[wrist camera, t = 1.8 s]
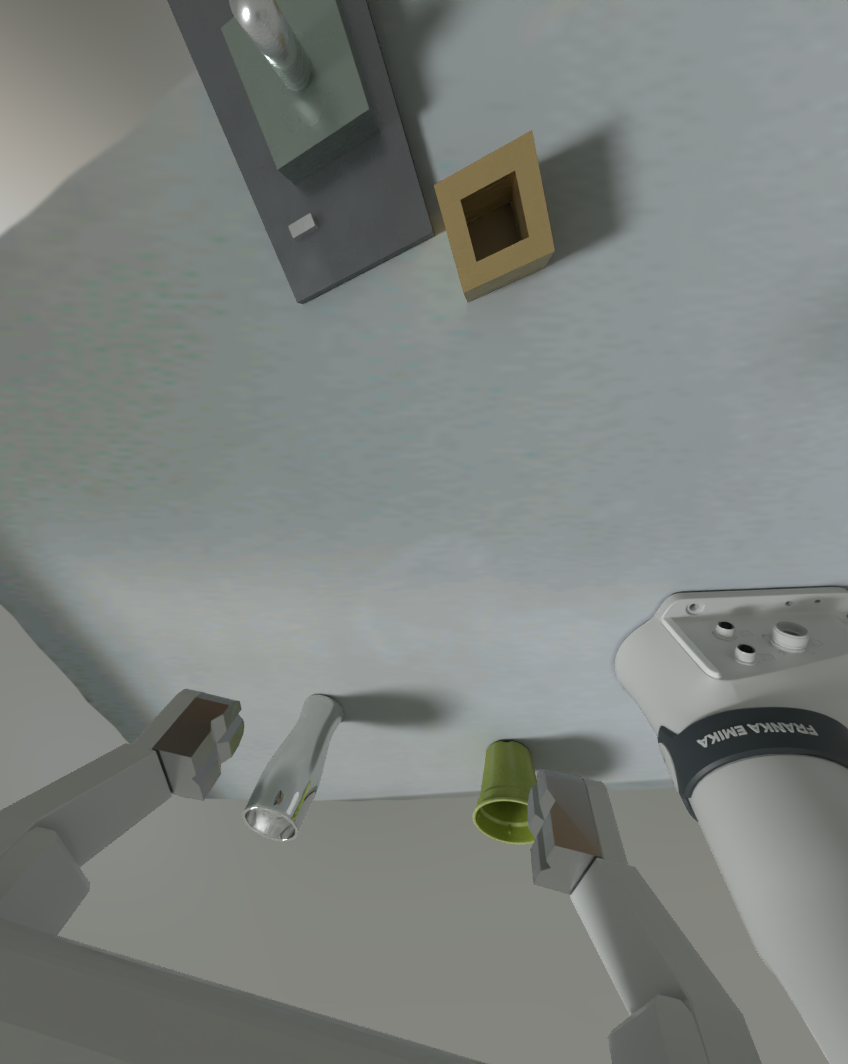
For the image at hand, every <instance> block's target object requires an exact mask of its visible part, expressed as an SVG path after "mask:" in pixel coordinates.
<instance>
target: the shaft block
mask: <svg viewBox="0 0 848 1064" xmlns="http://www.w3.org/2000/svg"><path fill="white" fill-rule="evenodd" d="M167 1H168V3H169V5H170V8H171V10H172V12H173V15H174V17H175V19H176V22H177V24H178V26H179V29H180V31H181V33H182V35H183V38H184V40H185V43H186V45H187V47H188V50H189V52H190V54H191V57H192V59H193V61H194V63H195V66H196V68H197V70H198V73H199V75H200V77H201V80H202V82H203V84H204V87H205V89H206V91H207V94H208V96H209V98H210V101H211V103H212V105H213V108H214V110H215V112H216V115H217V117H218V119H219V122H220V124H221V126H222V129H223V131H224V133H225V136H226V138H227V140H228V143H229V145H230V147H231V149H232V152H233V154H234V156H235V159H236V161H237V163H238V166H239V168H240V170H241V173H242V175H243V177H244V180H245V182H246V184H247V187H248V189H249V191H250V194H251V196H252V198H253V201H254V203H255V205H256V208H257V210H258V212H259V215H260V217H261V219H262V222H263V224H264V226H265V229H266V231H267V233H268V235H269V238H270V240H271V242H272V245H273V247H274V249H275V252H276V254H277V256H278V259H279V261H280V263H281V266H282V268H283V270H284V273H285V275H286V277H287V280H288V282H289V284H290V287H291V289H292V291H293V294H294V296H295V298H296V301H297V303H301V304H304V303H306V302H308V301H310V300H312V299H314V298H316V297H318V296H319V295H321V294H323V293H325V292H327V291H329V290H331V289H333V288H335V287H337V286H339V285H341V284H343V283H345V282H346V281H348V280H350V279H352V278H354V277H356V276H358V275H360V274H362V273H364V272H366V271H368V270H370V269H372V268H373V267H375V266H377V265H379V264H381V263H383V262H385V261H387V260H389V259H391V258H393V257H395V256H397V255H399V254H401V253H402V252H404V251H406V250H408V249H410V248H412V247H414V246H416V245H418V244H420V243H422V242H424V241H426V240H428V239H429V238H431V237H433V236H435V235H434V232H433V228H432V225H431V221H430V218H429V214H428V211H427V207H426V204H425V201H424V197H423V194H422V190H421V187H420V183H419V180H418V176H417V173H416V169H415V166H414V163H413V159H412V156H411V152H410V149H409V145H408V142H407V138H406V135H405V131H404V128H403V125H402V121H401V118H400V114H399V111H398V107H397V104H396V100H395V97H394V93H393V90H392V87H391V83H390V80H389V76H388V73H387V69H386V66H385V62H384V59H383V55H382V52H381V49H380V45H379V42H378V38H377V35H376V31H375V28H374V24H373V21H372V18H371V14H370V11H369V7H368V4H367V0H167Z"/></svg>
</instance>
